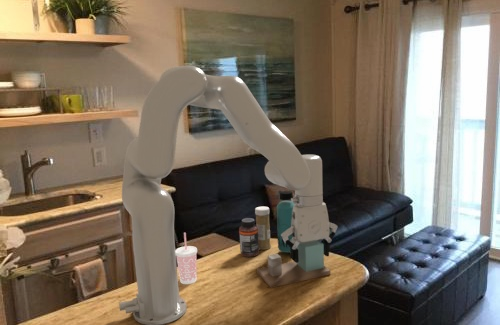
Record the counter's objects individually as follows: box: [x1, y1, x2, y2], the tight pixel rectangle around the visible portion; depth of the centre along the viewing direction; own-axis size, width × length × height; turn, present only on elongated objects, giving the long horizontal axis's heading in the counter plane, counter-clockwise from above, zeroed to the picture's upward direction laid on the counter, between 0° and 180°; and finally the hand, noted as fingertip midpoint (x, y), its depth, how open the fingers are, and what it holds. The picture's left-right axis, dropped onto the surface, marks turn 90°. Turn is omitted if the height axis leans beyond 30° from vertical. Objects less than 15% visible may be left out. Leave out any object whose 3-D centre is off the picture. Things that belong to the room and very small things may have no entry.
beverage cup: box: [175, 232, 198, 285], centre depth 122 cm, size 6×6×14 cm
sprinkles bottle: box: [254, 206, 272, 251], centre depth 143 cm, size 5×5×13 cm
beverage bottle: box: [276, 190, 296, 253], centre depth 137 cm, size 6×7×20 cm
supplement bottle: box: [238, 217, 260, 258], centre depth 139 cm, size 6×6×11 cm
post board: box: [256, 253, 331, 288], centre depth 124 cm, size 18×10×6 cm, turn 110°
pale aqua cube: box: [297, 240, 325, 272], centre depth 125 cm, size 6×6×7 cm
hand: (310, 257), depth 125 cm, fingers open, 9 cm apart
